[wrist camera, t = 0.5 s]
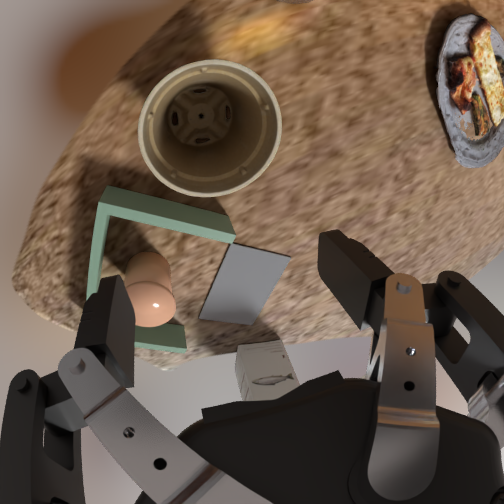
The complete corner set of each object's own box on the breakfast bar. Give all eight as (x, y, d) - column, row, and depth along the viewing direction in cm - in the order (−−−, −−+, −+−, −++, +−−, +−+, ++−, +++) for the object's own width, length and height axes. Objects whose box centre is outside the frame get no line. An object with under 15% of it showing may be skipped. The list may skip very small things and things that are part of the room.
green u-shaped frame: (107, 185, 25) (98, 201, 22) (228, 216, 31) (236, 235, 28) (89, 314, 33) (85, 337, 30) (182, 330, 39) (184, 353, 35)
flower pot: (130, 99, 22) (110, 109, 15) (224, 48, 21) (247, 36, 14) (180, 179, 27) (184, 220, 20) (266, 133, 27) (301, 158, 20)
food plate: (403, 47, 23) (424, 49, 21) (477, -4, 18) (495, -2, 16) (455, 187, 38) (470, 197, 35) (512, 117, 33) (526, 123, 30)
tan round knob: (128, 244, 30) (122, 279, 25) (178, 255, 32) (182, 291, 27) (120, 284, 32) (115, 321, 27) (166, 293, 35) (168, 330, 30)
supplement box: (282, 337, 45) (310, 404, 35) (273, 364, 49) (297, 425, 39) (236, 343, 43) (258, 416, 33) (232, 369, 47) (251, 435, 37)
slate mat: (230, 242, 33) (231, 243, 33) (290, 256, 36) (291, 257, 36) (198, 317, 38) (198, 318, 38) (252, 324, 41) (252, 325, 41)
